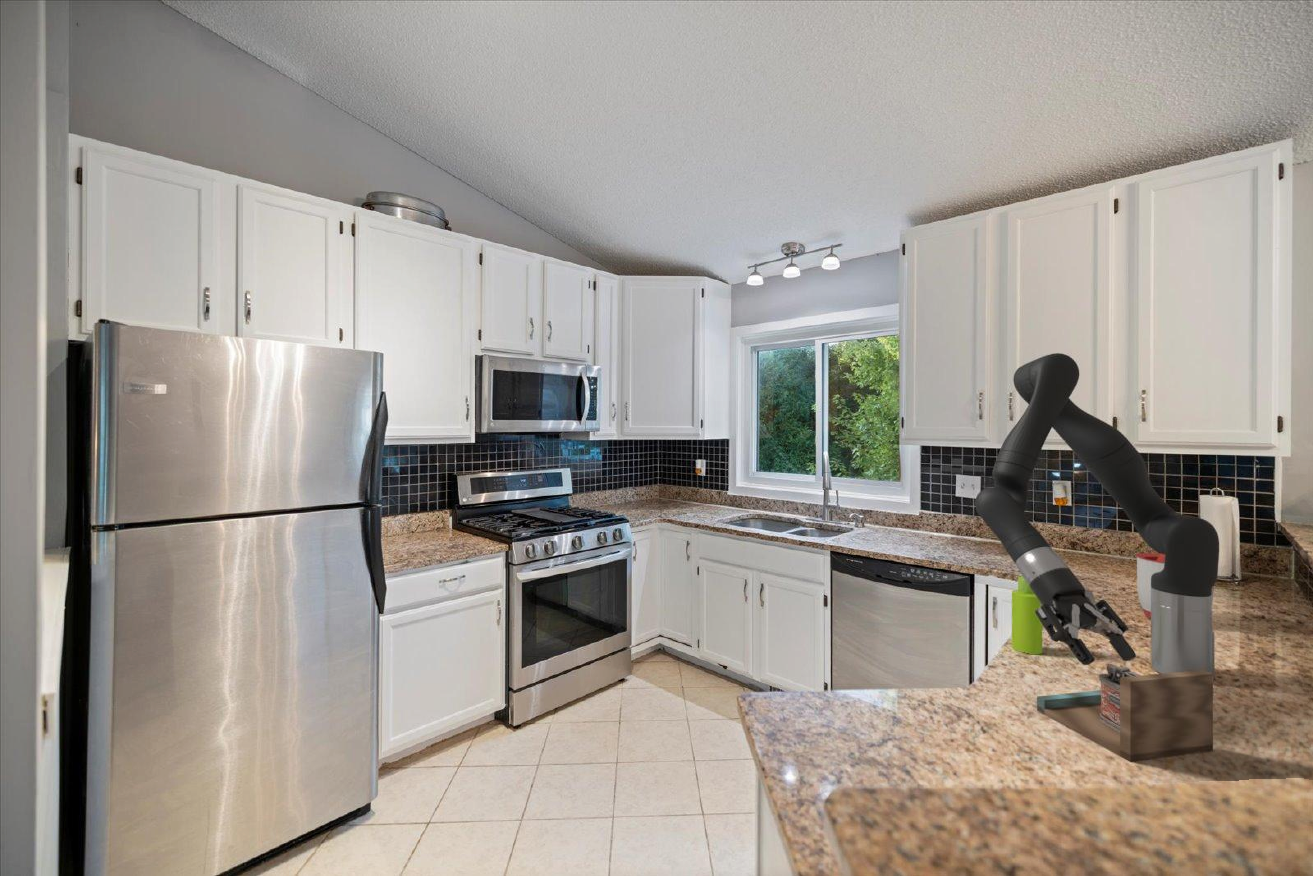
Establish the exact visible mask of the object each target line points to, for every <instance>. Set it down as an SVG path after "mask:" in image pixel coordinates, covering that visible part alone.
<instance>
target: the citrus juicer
mask: <svg viewBox="0 0 1313 876" xmlns="http://www.w3.org/2000/svg"><path fill="white" fill-rule="evenodd" d="M1135 557H1136V587H1137V588H1136V589H1137V596H1138V601H1139V602H1140V606H1141V610H1142V612H1143V614H1144V615H1145V617H1147V618H1149V619H1151V576H1152V575H1153V574H1154V573H1157V572H1161V571H1162V570H1163V569H1164V563H1165V555H1164V554H1161V553H1158V552H1156V553H1151V552H1150V553H1149V552H1142V553H1137V554H1135ZM1213 599H1214V586H1213V587H1212V603H1213V601H1214V600H1213Z"/></svg>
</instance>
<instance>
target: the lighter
mask: <svg viewBox="0 0 1313 876" xmlns="http://www.w3.org/2000/svg"><path fill="white" fill-rule="evenodd" d="M1106 671H1107V673H1100V674H1098V681H1099V682H1100V690H1101V712H1102V713H1100V720H1101V721H1102V722H1104V723H1105V724H1107V725H1108V726H1110V727H1112V728H1114V729H1115V730H1117V731H1119V732H1120V678H1121V677H1132V676H1142V674H1140V673H1137V672H1134V671H1131V669H1130V668H1128V667H1127V666H1118V665H1115V664H1112V663H1107V664H1106Z"/></svg>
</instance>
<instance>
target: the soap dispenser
mask: <svg viewBox="0 0 1313 876" xmlns="http://www.w3.org/2000/svg"><path fill="white" fill-rule="evenodd" d="M1017 586H1018V587H1017V589H1015V590H1012V591H1011V649H1013V650H1014V651H1016V650H1019V651H1022V652H1025V653H1024V654H1026V653H1029V654H1028V655H1035V654H1037V655H1041V654H1043V624H1042V623H1041V621H1040V620H1039V618H1038V616H1037V615H1036V613H1035V611H1036V610H1037V609H1038V608H1040V607H1041V606H1042V604H1041V602H1040V601H1039V600H1038V598H1037V597H1036V595H1035V594H1034V592H1033V591H1032V590H1031V588H1030V587H1029V585H1028V584H1027V582H1026V581H1025V579H1024V578H1023V577H1022V575H1020V576H1018V578H1017ZM1019 651H1018V652H1019ZM1022 652H1021V653H1022Z"/></svg>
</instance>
